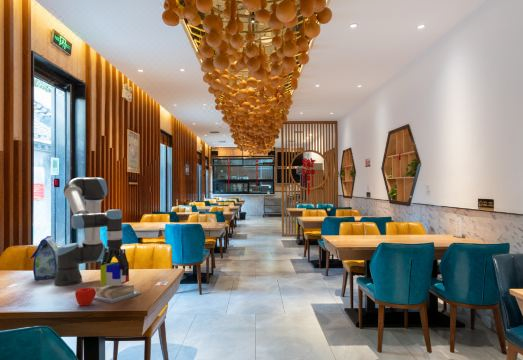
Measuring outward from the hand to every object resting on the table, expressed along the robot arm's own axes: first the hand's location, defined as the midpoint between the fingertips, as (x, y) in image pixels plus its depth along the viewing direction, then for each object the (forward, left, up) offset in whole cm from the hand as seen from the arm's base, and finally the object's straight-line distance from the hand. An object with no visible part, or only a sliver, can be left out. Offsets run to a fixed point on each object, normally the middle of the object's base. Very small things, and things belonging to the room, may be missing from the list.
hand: (115, 280), depth 197 cm
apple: (-1, -17, -8) cm, 19 cm away
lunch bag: (-83, +11, -8) cm, 84 cm away
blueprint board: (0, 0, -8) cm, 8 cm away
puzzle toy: (0, 0, -2) cm, 2 cm away
